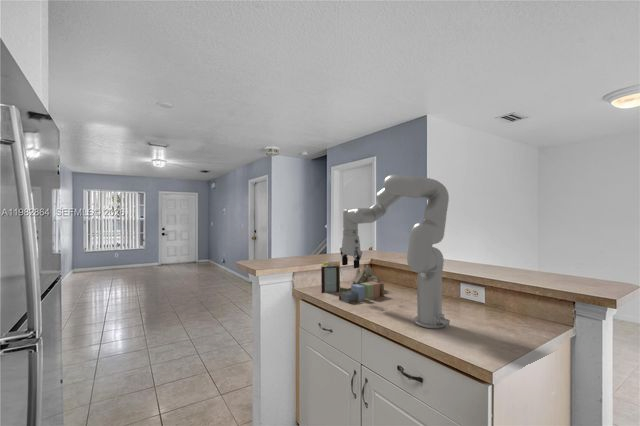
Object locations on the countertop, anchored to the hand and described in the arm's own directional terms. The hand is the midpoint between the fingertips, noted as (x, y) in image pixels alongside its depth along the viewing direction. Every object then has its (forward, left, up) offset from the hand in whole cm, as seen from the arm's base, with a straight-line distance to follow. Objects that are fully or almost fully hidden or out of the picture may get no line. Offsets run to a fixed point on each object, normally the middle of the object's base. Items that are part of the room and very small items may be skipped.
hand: (350, 266), depth 156 cm
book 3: (0, -16, -17) cm, 23 cm away
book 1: (0, -5, -17) cm, 18 cm away
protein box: (+26, -6, -19) cm, 33 cm away
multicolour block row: (0, -7, -18) cm, 20 cm away
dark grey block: (0, +1, -17) cm, 17 cm away
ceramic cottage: (+12, -22, -19) cm, 31 cm away
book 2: (0, -11, -17) cm, 21 cm away
